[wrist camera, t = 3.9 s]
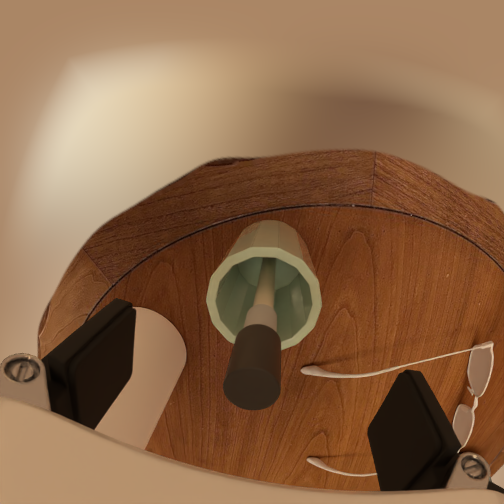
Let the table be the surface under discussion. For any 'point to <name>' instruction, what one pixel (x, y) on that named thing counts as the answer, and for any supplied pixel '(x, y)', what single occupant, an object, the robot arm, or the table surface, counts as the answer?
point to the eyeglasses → (464, 414)
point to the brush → (257, 350)
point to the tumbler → (247, 274)
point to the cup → (146, 380)
